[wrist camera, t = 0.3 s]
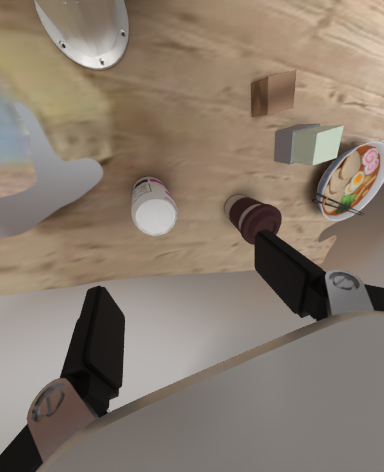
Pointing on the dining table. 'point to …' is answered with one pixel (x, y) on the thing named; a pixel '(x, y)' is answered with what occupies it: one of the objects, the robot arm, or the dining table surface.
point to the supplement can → (153, 206)
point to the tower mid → (316, 144)
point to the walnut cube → (273, 94)
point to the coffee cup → (252, 216)
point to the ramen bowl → (351, 181)
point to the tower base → (287, 142)
